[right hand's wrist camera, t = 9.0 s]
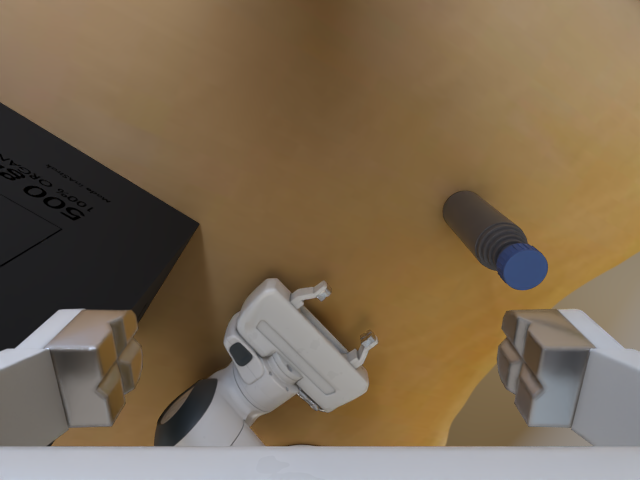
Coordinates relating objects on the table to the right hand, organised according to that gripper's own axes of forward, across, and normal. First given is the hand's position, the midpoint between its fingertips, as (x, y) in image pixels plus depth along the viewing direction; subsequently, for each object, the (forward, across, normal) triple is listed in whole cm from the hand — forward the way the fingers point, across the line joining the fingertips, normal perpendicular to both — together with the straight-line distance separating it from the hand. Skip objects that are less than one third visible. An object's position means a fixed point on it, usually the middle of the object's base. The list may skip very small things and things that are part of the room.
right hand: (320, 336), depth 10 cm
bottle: (+47, -18, +11) cm, 51 cm away
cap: (+28, -18, +11) cm, 36 cm away
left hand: (+42, -4, +23) cm, 48 cm away
